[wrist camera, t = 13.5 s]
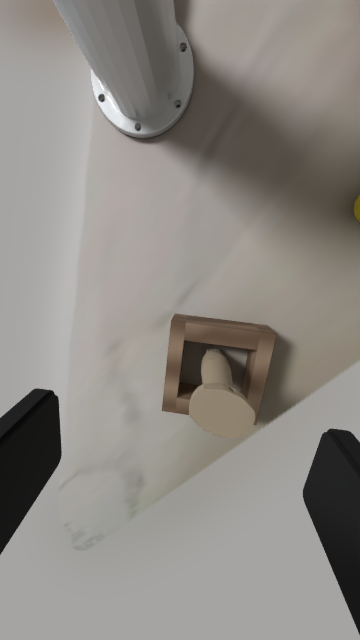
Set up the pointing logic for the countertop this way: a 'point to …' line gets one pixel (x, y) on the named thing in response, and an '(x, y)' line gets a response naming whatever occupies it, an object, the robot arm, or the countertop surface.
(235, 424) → the handle
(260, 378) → the square frame
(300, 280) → the countertop surface
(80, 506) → the countertop surface
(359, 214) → the lemon
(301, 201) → the countertop surface
